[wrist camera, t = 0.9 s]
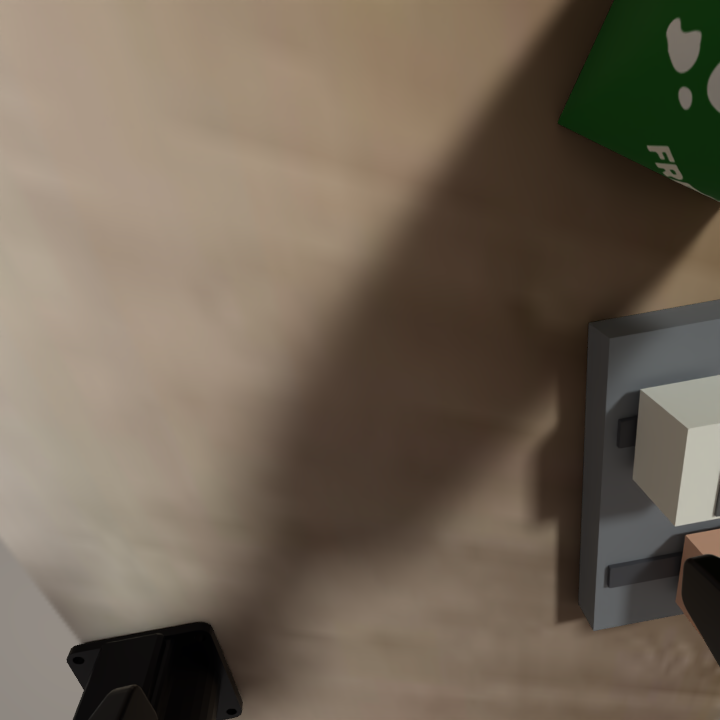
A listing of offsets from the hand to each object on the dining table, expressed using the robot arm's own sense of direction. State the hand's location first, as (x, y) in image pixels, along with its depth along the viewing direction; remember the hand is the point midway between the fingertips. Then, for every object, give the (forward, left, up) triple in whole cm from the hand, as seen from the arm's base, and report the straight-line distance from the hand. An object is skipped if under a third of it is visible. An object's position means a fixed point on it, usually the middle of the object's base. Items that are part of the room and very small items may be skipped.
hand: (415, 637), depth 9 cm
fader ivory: (-5, -11, -10) cm, 16 cm away
